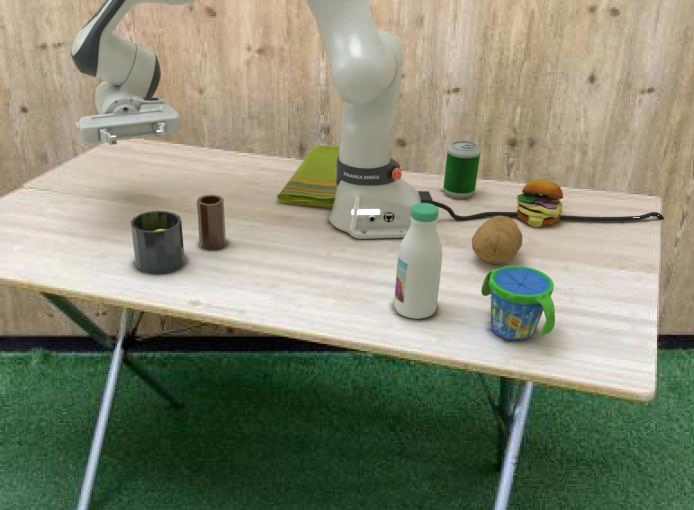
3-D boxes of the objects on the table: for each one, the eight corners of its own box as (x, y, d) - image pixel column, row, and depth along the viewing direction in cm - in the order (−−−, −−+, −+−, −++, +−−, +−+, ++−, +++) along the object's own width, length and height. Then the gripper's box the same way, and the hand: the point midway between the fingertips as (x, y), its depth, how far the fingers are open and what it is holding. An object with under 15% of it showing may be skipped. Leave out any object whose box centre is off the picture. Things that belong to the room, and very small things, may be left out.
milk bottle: (441, 303, 145) (453, 203, 134) (428, 324, 139) (440, 220, 128) (401, 294, 148) (410, 195, 137) (387, 313, 142) (395, 212, 131)
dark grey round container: (189, 252, 161) (186, 212, 156) (177, 275, 153) (173, 233, 148) (143, 249, 162) (139, 209, 157) (129, 272, 154) (124, 230, 149)
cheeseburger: (509, 224, 173) (518, 178, 170) (516, 216, 183) (523, 173, 179) (557, 231, 170) (566, 185, 166) (560, 223, 179) (569, 179, 176)
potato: (522, 247, 164) (529, 212, 160) (514, 278, 153) (521, 241, 149) (476, 239, 167) (481, 205, 163) (464, 269, 156) (469, 233, 151)
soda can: (476, 200, 184) (483, 151, 177) (444, 200, 184) (450, 150, 177) (471, 187, 190) (478, 139, 184) (440, 187, 190) (446, 139, 184)
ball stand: (227, 239, 166) (225, 195, 160) (222, 251, 161) (220, 206, 156) (203, 237, 166) (200, 193, 161) (197, 249, 162) (194, 204, 156)
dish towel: (276, 203, 181) (276, 190, 179) (312, 150, 210) (312, 138, 208) (341, 210, 178) (342, 197, 176) (368, 156, 207) (369, 144, 205)
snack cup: (565, 347, 134) (577, 295, 128) (514, 361, 130) (524, 308, 124) (510, 303, 145) (519, 254, 140) (462, 315, 142) (469, 265, 136)
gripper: (71, 107, 160) (80, 128, 150) (170, 96, 166) (185, 116, 156) (76, 137, 164) (85, 160, 153) (172, 126, 170) (188, 147, 159)
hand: (137, 138), depth 154 cm, fingers open, 8 cm apart
